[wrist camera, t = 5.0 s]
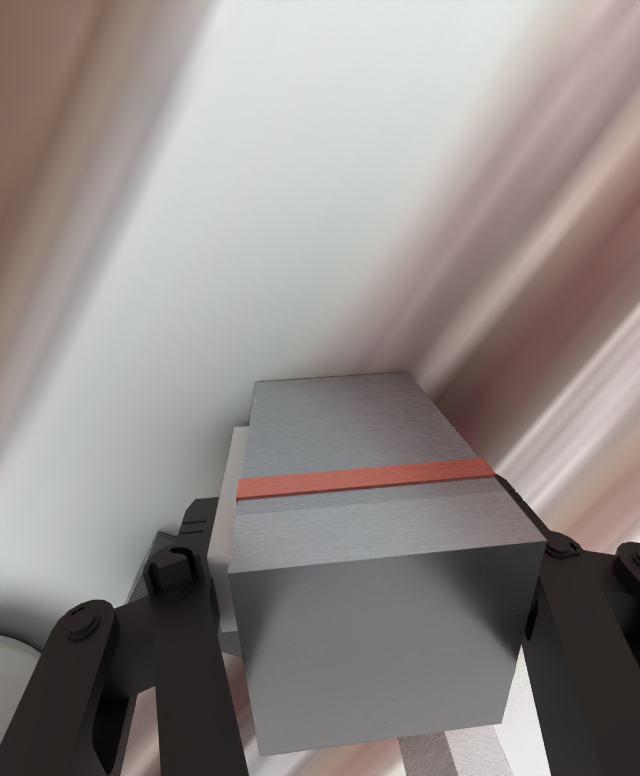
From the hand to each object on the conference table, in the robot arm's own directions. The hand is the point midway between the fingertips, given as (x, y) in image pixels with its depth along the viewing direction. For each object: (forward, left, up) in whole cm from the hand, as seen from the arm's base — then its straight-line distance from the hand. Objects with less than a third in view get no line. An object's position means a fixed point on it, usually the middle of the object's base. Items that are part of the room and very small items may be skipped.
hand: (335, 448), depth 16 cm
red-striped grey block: (0, 0, 0) cm, 0 cm away
